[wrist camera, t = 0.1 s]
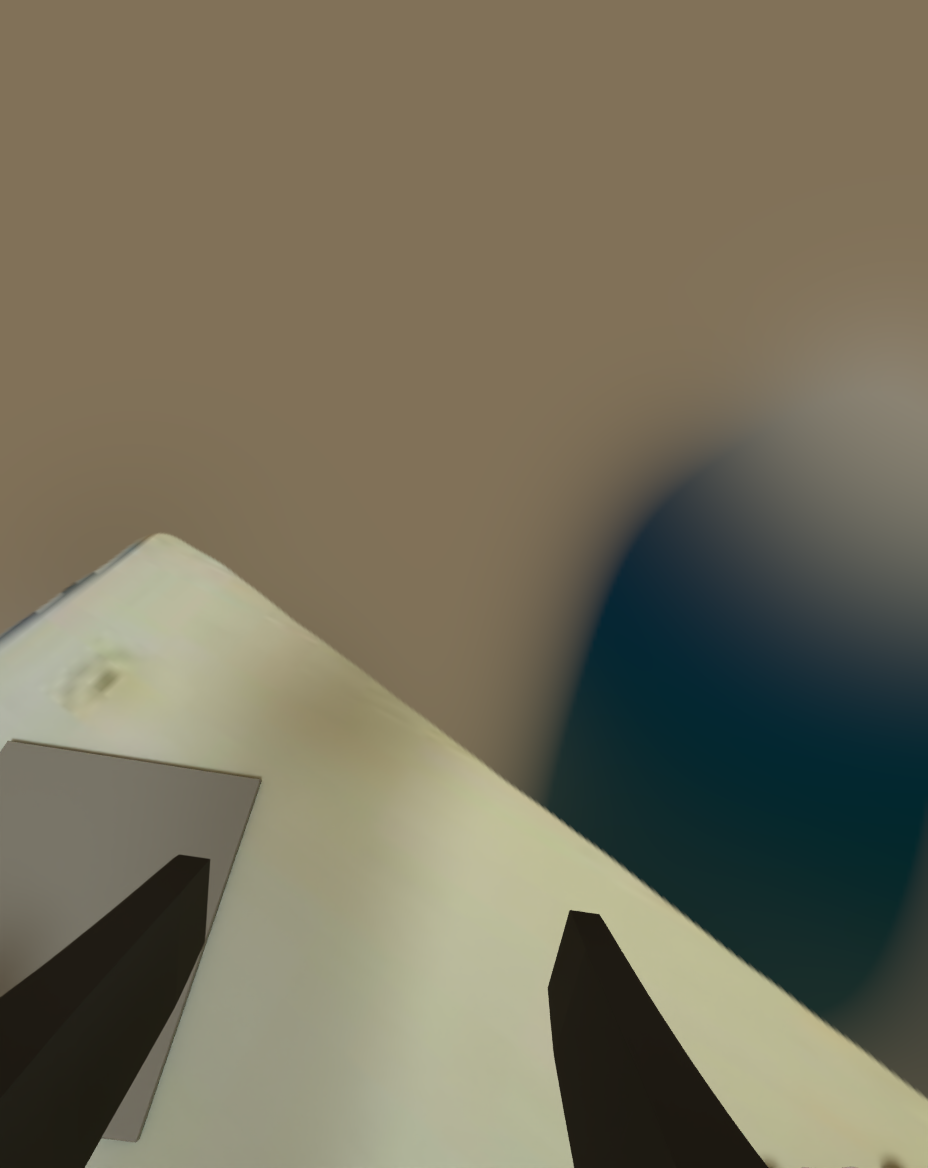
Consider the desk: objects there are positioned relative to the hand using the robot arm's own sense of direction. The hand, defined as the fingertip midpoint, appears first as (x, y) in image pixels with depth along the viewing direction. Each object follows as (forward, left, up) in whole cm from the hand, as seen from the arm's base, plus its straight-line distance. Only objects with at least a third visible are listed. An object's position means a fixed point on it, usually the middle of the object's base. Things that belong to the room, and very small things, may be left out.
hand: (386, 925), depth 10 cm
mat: (-2, +22, -32) cm, 39 cm away
